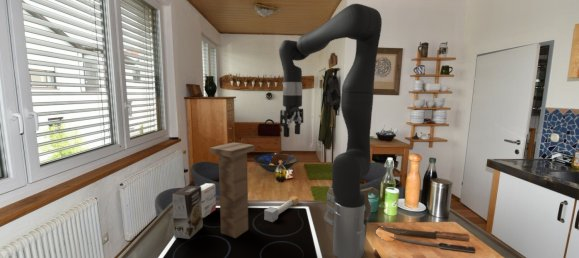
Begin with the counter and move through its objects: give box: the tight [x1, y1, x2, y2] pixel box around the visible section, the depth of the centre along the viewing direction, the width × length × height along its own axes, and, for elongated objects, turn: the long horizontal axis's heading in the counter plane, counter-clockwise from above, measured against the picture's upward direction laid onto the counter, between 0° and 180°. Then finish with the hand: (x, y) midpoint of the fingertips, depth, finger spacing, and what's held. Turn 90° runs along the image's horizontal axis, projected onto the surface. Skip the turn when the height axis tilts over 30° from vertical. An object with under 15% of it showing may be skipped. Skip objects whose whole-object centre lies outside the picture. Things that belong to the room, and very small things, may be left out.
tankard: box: [323, 183, 379, 227], centre depth 105 cm, size 20×13×15 cm, turn 73°
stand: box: [209, 142, 256, 239], centre depth 96 cm, size 10×12×32 cm
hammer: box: [263, 195, 299, 223], centre depth 115 cm, size 22×4×4 cm, turn 149°
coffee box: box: [171, 185, 204, 240], centre depth 97 cm, size 9×6×16 cm
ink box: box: [199, 182, 217, 219], centre depth 112 cm, size 8×5×12 cm, turn 160°
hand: (292, 135), depth 105 cm, fingers open, 8 cm apart
